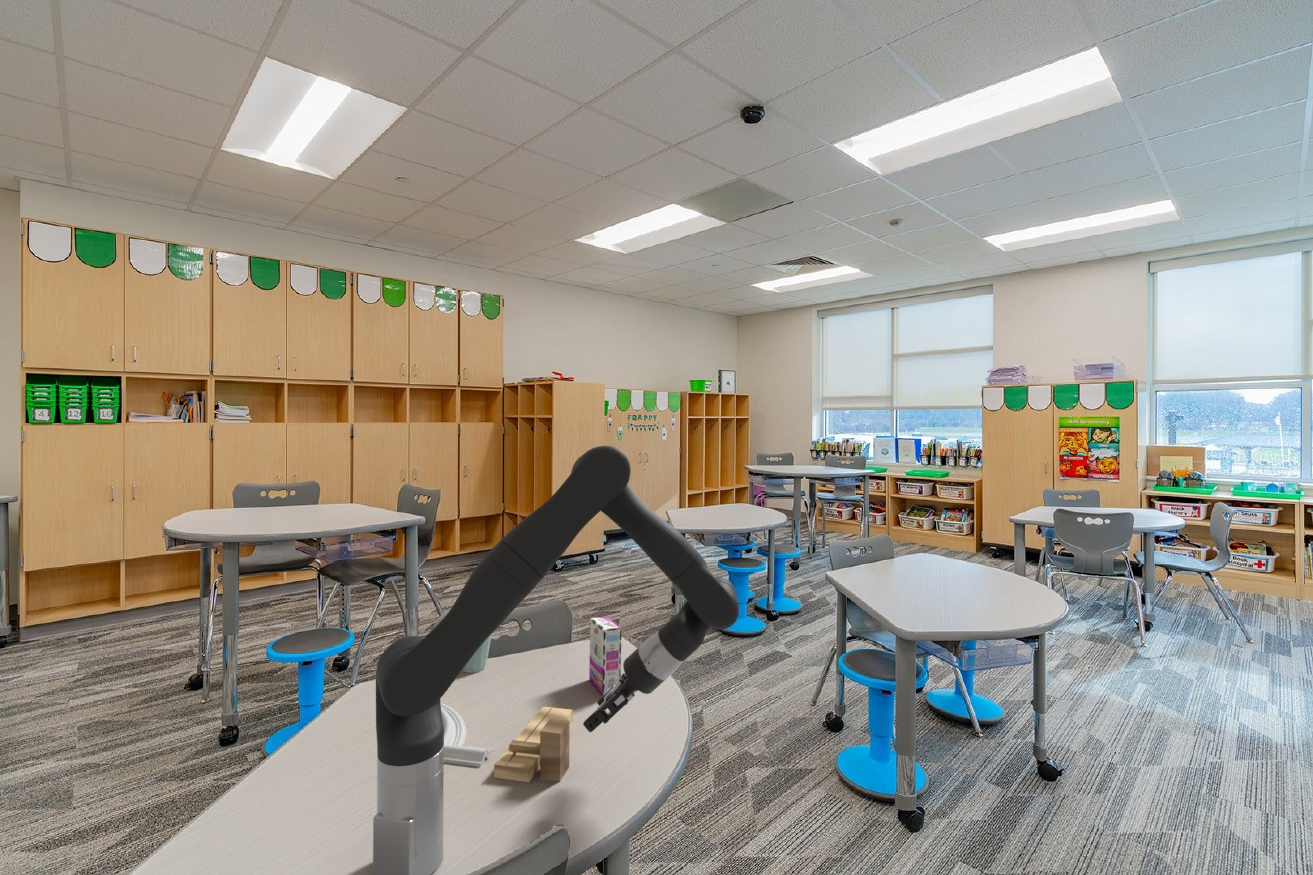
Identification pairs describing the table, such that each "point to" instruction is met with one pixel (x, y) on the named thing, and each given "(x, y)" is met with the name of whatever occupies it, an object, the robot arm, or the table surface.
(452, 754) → the molding
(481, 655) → the disposable coffee cup
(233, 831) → the table surface
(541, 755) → the wooden block with tab
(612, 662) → the candy bar box
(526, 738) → the plank
